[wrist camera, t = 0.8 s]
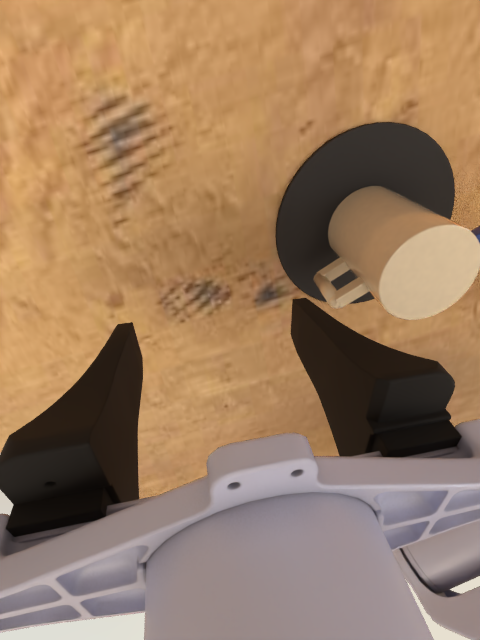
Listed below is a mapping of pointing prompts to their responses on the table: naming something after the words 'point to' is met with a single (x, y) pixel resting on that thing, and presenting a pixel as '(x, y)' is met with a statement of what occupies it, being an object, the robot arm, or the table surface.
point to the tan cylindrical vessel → (398, 255)
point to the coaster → (347, 177)
